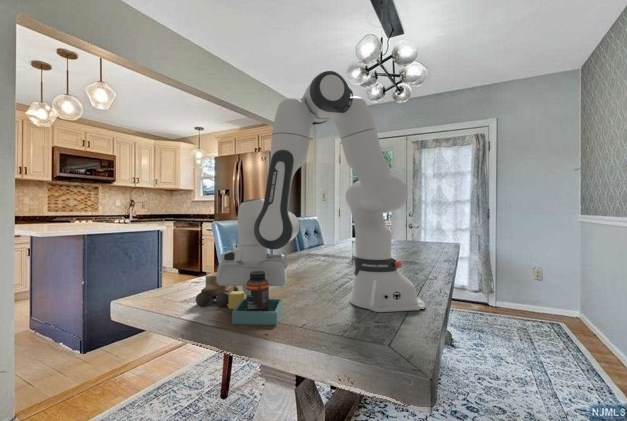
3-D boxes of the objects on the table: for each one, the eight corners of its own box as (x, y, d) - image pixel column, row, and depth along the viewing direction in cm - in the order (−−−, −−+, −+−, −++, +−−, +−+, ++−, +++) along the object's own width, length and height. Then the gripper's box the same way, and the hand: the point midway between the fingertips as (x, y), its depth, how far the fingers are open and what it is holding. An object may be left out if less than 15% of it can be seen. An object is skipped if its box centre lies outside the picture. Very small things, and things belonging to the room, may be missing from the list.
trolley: (238, 296, 99) (238, 271, 99) (229, 306, 89) (229, 278, 89) (208, 296, 100) (208, 270, 100) (195, 306, 89) (195, 277, 89)
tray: (281, 310, 87) (282, 299, 87) (276, 324, 76) (277, 312, 76) (242, 309, 87) (243, 298, 87) (232, 324, 76) (232, 311, 76)
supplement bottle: (271, 311, 84) (271, 270, 84) (265, 318, 78) (265, 274, 78) (249, 310, 85) (250, 269, 85) (242, 317, 79) (243, 274, 79)
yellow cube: (245, 304, 92) (245, 291, 92) (242, 309, 88) (242, 295, 88) (232, 304, 92) (232, 291, 92) (228, 308, 88) (228, 294, 88)
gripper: (288, 252, 93) (288, 297, 93) (221, 251, 93) (221, 297, 93) (286, 255, 87) (286, 304, 87) (214, 254, 87) (214, 303, 87)
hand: (251, 300), depth 90 cm, fingers closed
